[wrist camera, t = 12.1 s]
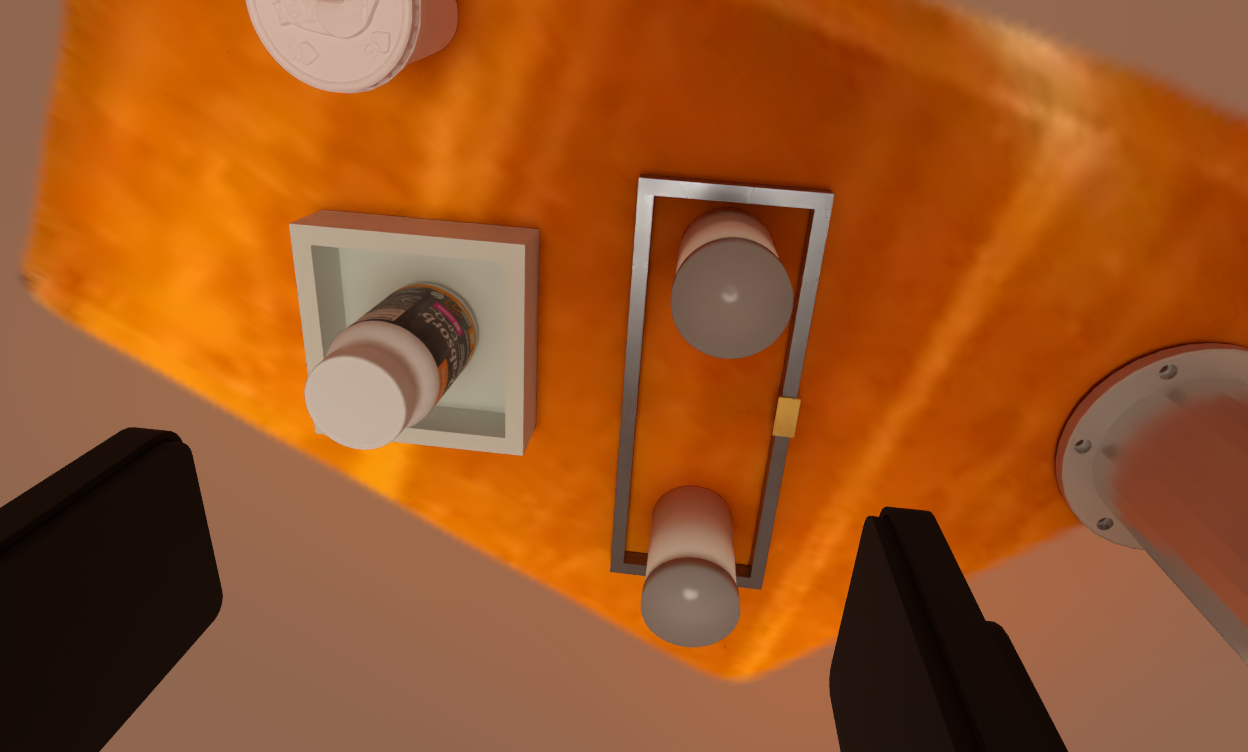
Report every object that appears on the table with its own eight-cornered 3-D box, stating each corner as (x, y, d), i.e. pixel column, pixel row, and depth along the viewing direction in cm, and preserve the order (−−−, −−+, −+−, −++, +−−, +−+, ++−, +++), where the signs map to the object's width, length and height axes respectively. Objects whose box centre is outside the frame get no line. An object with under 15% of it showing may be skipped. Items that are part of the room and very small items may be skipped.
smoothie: (503, 64, 35) (392, 72, 23) (385, 98, 37) (218, 123, 24) (459, -84, 33) (309, -168, 20) (335, -42, 34) (119, -97, 22)
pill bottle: (496, 357, 41) (440, 442, 32) (409, 385, 43) (332, 474, 34) (453, 265, 39) (381, 329, 30) (363, 297, 41) (268, 367, 32)
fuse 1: (782, 210, 37) (802, 248, 30) (767, 306, 39) (782, 364, 32) (681, 201, 37) (676, 237, 30) (671, 297, 39) (665, 352, 32)
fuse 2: (738, 489, 44) (746, 576, 37) (728, 558, 46) (733, 652, 39) (653, 480, 44) (644, 564, 37) (647, 548, 47) (637, 640, 39)
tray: (539, 229, 39) (524, 244, 35) (535, 426, 44) (522, 455, 40) (322, 209, 39) (288, 223, 36) (343, 405, 44) (315, 433, 41)
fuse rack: (834, 190, 36) (839, 195, 35) (763, 577, 47) (764, 592, 45) (640, 173, 37) (638, 178, 36) (612, 559, 47) (609, 573, 46)
